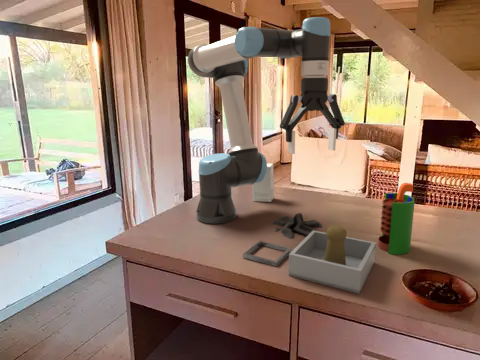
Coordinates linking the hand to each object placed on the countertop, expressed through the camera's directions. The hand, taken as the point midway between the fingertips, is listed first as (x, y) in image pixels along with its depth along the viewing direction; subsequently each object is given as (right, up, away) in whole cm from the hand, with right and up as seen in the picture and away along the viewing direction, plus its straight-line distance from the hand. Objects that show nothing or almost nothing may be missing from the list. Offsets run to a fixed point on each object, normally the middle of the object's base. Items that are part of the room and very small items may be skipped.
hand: (311, 151), depth 108 cm
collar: (-13, -30, -2) cm, 33 cm away
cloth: (-2, -26, +17) cm, 31 cm away
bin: (+4, -32, -10) cm, 34 cm away
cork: (+4, -32, -10) cm, 34 cm away
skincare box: (-11, -17, +49) cm, 53 cm away
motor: (+25, -29, +2) cm, 38 cm away
